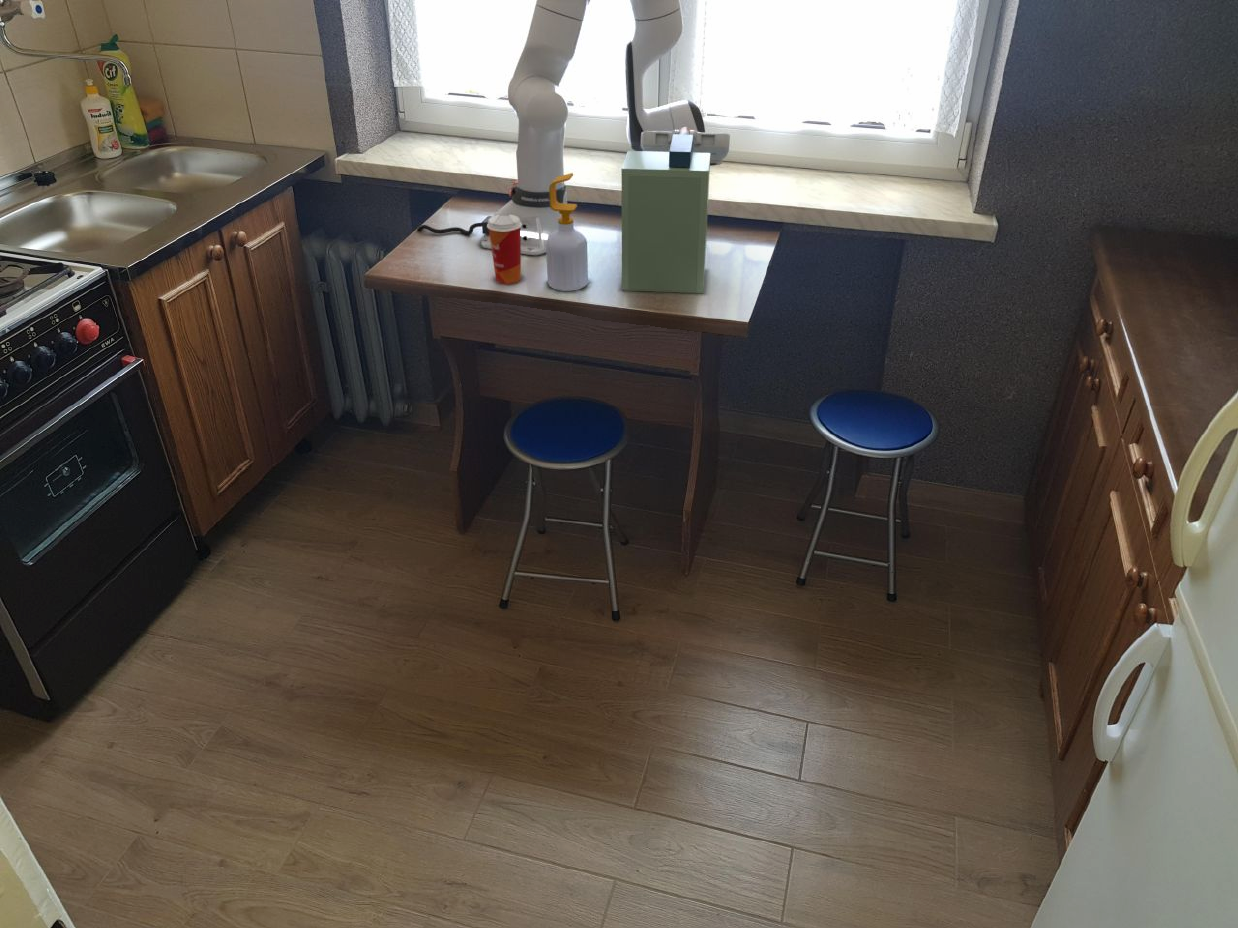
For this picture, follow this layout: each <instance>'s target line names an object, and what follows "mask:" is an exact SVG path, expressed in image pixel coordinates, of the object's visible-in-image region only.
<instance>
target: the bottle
mask: <svg viewBox="0 0 1238 928" xmlns="http://www.w3.org/2000/svg"><path fill="white" fill-rule="evenodd" d="M692 152H693V135H690V130H689V129H688V128H687V127H683V128H681V129H680V132H679V134H673V137H672V142H671V146H670V151H669V167H687V168H690V165H691V158H692Z"/></svg>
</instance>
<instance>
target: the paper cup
mask: <svg viewBox="0 0 1238 928" xmlns="http://www.w3.org/2000/svg"><path fill="white" fill-rule="evenodd" d="M492 216H493V217H491V218H490V219H489V221H488V224H487V228H488V229H489V234H490V241H491V248H492V249H491V254H492V262H493V269H494V275H495V280H496V282H498V283H499V284H504V285H512V284H516V283H518V282H520V281H521V278H522V254H521V226H522V223H521V222H520V219H519V218H518V217H517V216H514V215H509V216H507V215H502V216H499V215H497V216H494V215H492Z"/></svg>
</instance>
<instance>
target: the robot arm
mask: <svg viewBox="0 0 1238 928" xmlns="http://www.w3.org/2000/svg"><path fill="white" fill-rule="evenodd" d="M590 2H591V0H536V1H535V5H534V10H533V13H532V18H531V22H530V26H529V31H528V33H527V37H526V41H525V44H524V47H523V48H522V49H523V50H522V52H521V54H520V56H519V59H518V62H517V64H516V67H515V69H514V72H513V76H512V78H510V80H509V83H508V86H507V100H508V103H509V106H510V108H511V110H512V111H513V112H514V113H515V114H516V118H517V122H518V132H517V133H518V134H517V146H516V147H517V148H516V151H515V157H516V171H517V173H516V174H517V180H515V182H513V184H512V187H511V188H510V191H509V192H508V194H509V197H510V198H511V199H510V200H509V201H508V202H507V203H505V205H503V206H502V207H501V208H499V209H498V210H497V211H496V212H495V213H494V214H493V215H488V216H487V217H485V218H484V219H483V220H482V221H481V222H475V223H473V224H471V225H470V226H469V229H468V230H466V229H464V228H462V227H457V226H455V227H447V228H442V229H441V228H439V229H437V228H433V227H431V226H430V225H427V224H422V225H420V226H419V227H418V228H417V229H416V231H417V232H422V230H427V231H429V232H431V233H434V234H446V233H447V234H449V233H453V232H459V233H462V234H463V235H466V236H470V235H472V234H473V233H474V229H476V228H481V232H482V234H483V235H482V237H481V247H483V248H484V249H488V250H492V248H491V241H490V234H489V229H488V228H487V224H488V221H489V219H490V218H491V217H493V216H497V215H499V216H502V215H507V216H509V215H514V216H517V217H518V218H519V219H520V222H521V223H522V226H521V255H522V254H523V255H527V256H528V255H529V256H540V255H543V254H546V242H547V238H548V237H549V236H550V235H551V234H552V233H553V232H555V231H557V230H558V219H559V218H562V214H560V213H559V211H554V210H552V209H551V207H550V196H549V186H550V185H551V183H552V182H553V181H554V180H555V179H556V178H557V177H559V176H562V175H565V172H564V167H565V166H564V147H565V146H564V145H565V137H566V127H567V120H568V115H569V107H568V103H567V99H566V97H565V94H564V92H563V91H562V90H561V89H560V86H561V83H562V80H563V78H564V77H565V75H566V72H567V69H568V67H569V66H570V63H571V62H572V61H573V59H574V58H575V56H576V52H577V48H578V45H579V41H580V38H581V33H582V30H583V27H584V22H585V18H586V15H587V10H588V5H589V4H590ZM628 2H629V3H630V7H631V13H632V18H633V25H634V26H633V34H632V38H631V40H629V42H628V43H627V44H626V46H625V53H624V59H625V61H624V62H625V63H624V64H625V66H624V67H625V72H624V73H625V88H626V89H625V91H626V106H627V120H626V121H627V122H626V137H627V141H628V144H629V146H630V148H631V149H632V151H653V152H669V151H670V146H671V142H672V137H673V134H679V132H680V129H681V128H683V127H687V128H688V129H689V130H690V135H693V152H692V153H710V167H712V166H713V167H714V166H719V165H723V160H724V159H726V157H727V156H728V154H729V151H730V143H731V142H730V141H731V135H730V133H727V132H706V127H705V121H704V118H703V115H702V112H701V110H700V108H699V107H698V105H697V104H695V103H694V102H693V101H691V100H689V99H684V100H679V101H676V102H672V103H668V104H665V105H661V106H658V107H654V108H649V109H648V108H647V109H646V108H645V107H644V103H645V102H644V82H643V80H644V77H645V73H646V72H647V70H649V68H650V67H651V66H652V65H653V64H655V63H656V62H657V61H659V60H660V59H661V58H662V57H664V56H666V55H667V54H668V53H670V51H672V50H673V49H674V48H675V46H676V45H677V44H678V42H679V41H680V39H681V37H682V35H683V30H684V19H683V11H682V10H683V9H682V5H681V0H628ZM556 199H557V201H558V203H567V204H568V192H567V185H566V183H565V181H564V182H561V183H557V184H556Z"/></svg>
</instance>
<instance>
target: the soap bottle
mask: <svg viewBox="0 0 1238 928" xmlns="http://www.w3.org/2000/svg"><path fill="white" fill-rule="evenodd" d="M573 176H574V173H573V172H570V173H568V174H564V175H562V176H559V177H557V178H556V179H555V180H554V181H553V182H552V183H551V185H550V186H549V196H550V207H551V209H552V210H554V211H559V213H560V214H562V218H559V219H558V230H557V231H555V232H553V233H552V234H551V235H550V236H549V237H548V238H547V242H546V253H545V255H546V271H547V274H546V275H547V285H548V286H549V288H552V289H554V290H557V291H562V292H571V291H572V292H573V291H574V292H575V291H578V290H581V289H583V288H585V287H586V286H587V285H589V284H588V283H589V268H588V267H589V264H588V263H589V261H588V240H587V238H586V236H585V235H584V234H583V233H582V232H580V231H579V230H577V229H575V228H574V226H575V225H574V218H573V217H571V216H570V215H571V214H573V212H575V210H576V209H577V208H578V204H577V203H568V202H567V203H558V201H557V199H556V184H557V183H561V182H564V183H565V182H567V181H569V180H571V179H572V177H573Z"/></svg>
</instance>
